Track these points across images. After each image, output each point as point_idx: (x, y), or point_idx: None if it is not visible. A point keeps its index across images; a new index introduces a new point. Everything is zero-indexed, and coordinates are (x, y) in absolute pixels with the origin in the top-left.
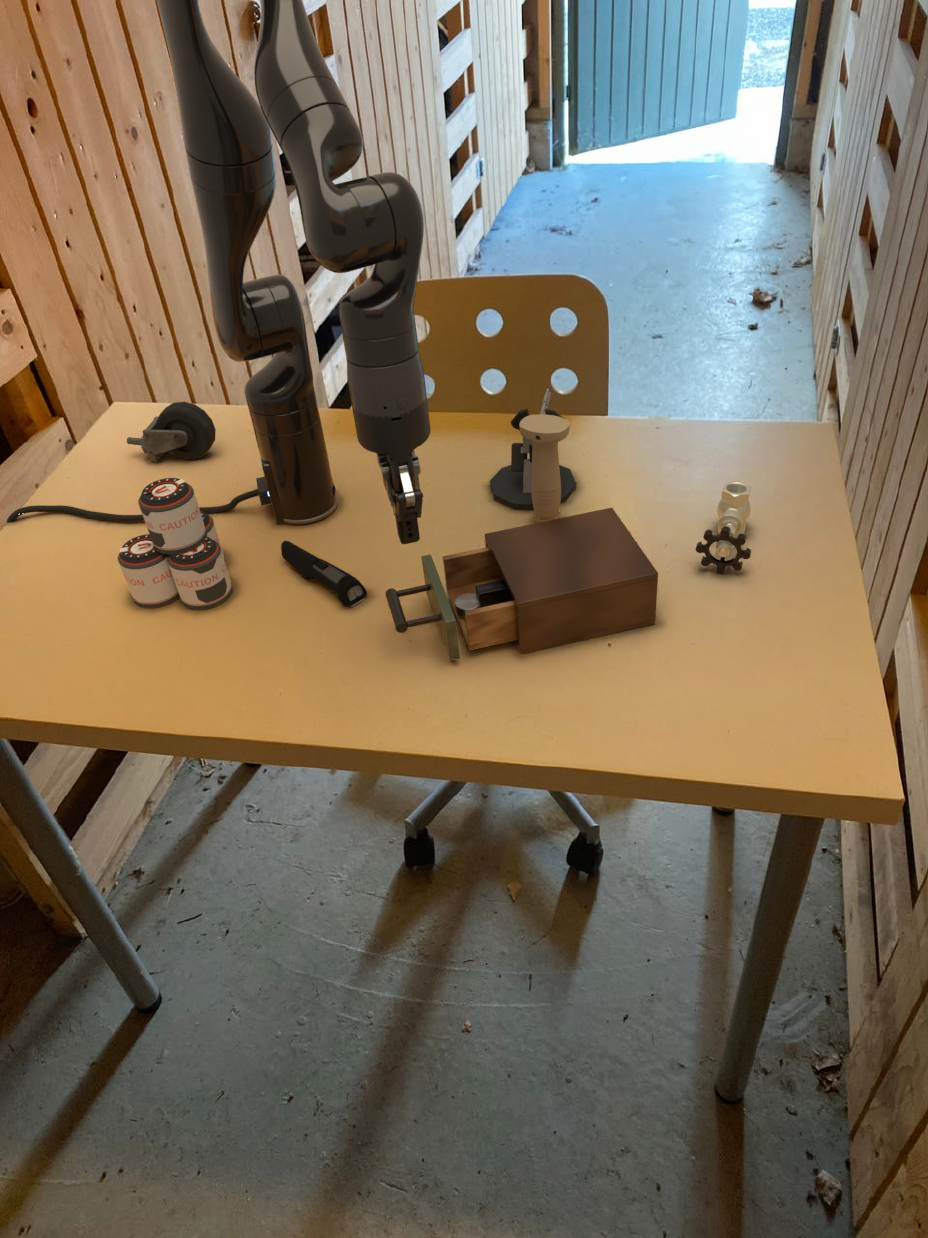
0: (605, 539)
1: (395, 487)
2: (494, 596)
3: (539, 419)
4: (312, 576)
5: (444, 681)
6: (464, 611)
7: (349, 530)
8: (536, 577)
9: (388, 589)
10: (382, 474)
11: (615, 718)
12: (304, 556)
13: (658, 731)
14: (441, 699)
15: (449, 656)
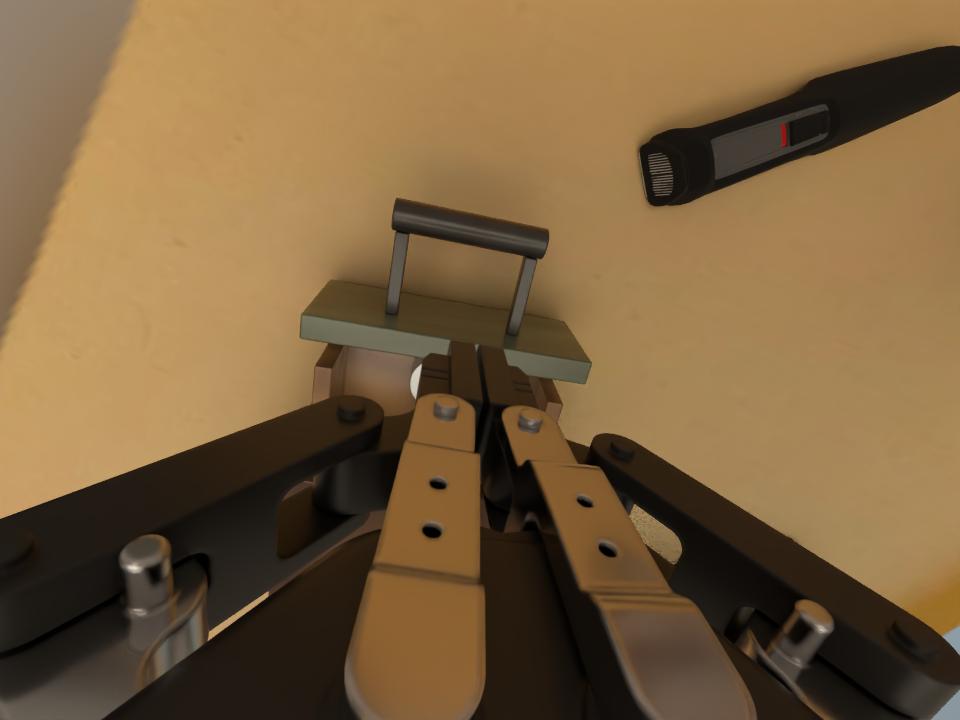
0: None
1: (300, 573)
2: None
3: None
4: (796, 93)
5: (296, 245)
6: (416, 365)
7: (898, 258)
8: (348, 538)
9: (546, 241)
10: (415, 600)
11: (99, 459)
12: (878, 95)
13: (53, 496)
14: (244, 217)
15: (329, 282)
